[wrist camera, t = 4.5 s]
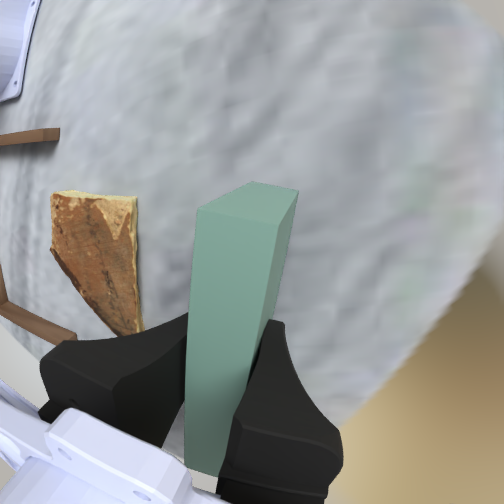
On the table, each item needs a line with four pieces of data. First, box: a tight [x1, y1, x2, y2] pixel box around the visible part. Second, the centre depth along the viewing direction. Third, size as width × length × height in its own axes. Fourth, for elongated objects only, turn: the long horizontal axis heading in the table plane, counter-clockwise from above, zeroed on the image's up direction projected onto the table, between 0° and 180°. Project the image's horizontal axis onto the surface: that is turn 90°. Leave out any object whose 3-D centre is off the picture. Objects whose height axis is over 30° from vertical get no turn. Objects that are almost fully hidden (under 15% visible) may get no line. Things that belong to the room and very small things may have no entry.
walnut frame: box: [0, 128, 77, 346], centre depth 19 cm, size 16×11×2 cm
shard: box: [50, 190, 145, 337], centre depth 18 cm, size 11×8×2 cm
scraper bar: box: [184, 182, 299, 477], centre depth 12 cm, size 12×2×6 cm, turn 171°
